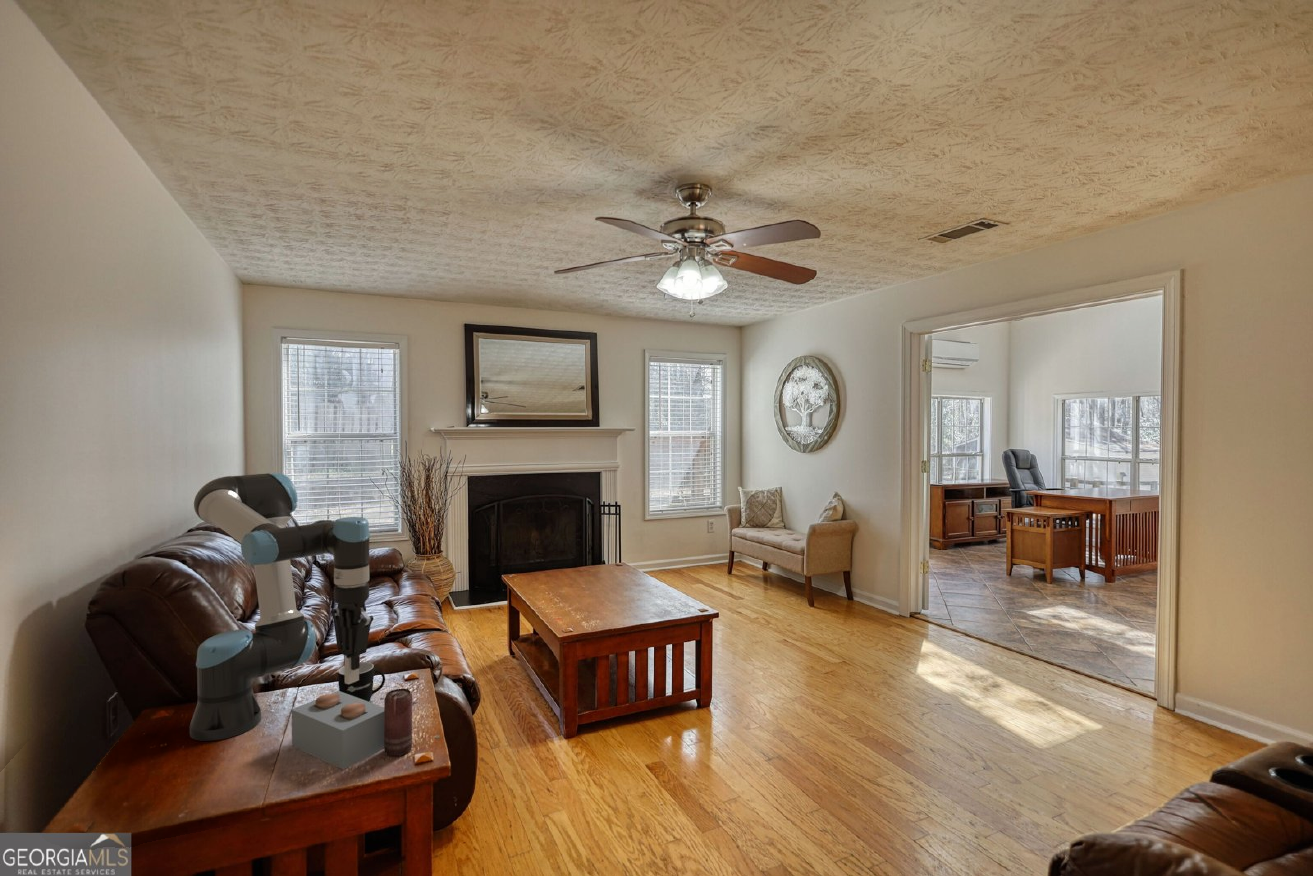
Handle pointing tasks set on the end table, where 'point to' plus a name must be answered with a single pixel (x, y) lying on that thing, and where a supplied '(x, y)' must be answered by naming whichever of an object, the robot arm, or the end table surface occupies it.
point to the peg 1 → (327, 701)
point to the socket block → (338, 731)
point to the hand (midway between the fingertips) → (351, 681)
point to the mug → (360, 682)
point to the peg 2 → (353, 711)
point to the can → (398, 722)
